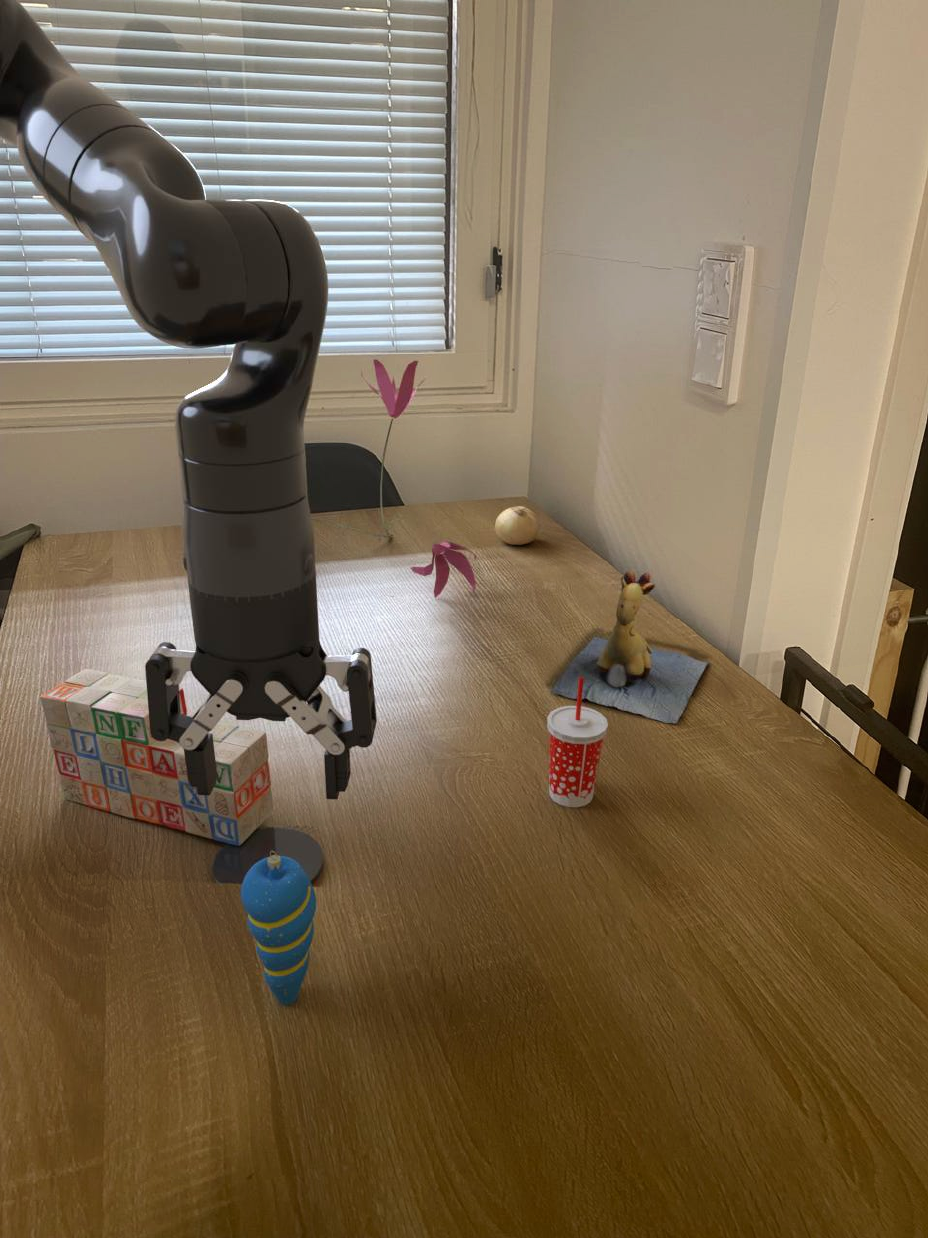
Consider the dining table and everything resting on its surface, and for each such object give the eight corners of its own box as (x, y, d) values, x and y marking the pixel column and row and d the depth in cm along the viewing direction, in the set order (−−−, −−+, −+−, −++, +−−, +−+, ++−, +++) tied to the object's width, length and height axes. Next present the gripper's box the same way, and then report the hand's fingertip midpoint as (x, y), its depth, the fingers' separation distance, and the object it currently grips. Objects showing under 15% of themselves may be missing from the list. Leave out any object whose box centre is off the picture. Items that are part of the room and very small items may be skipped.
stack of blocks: (276, 811, 91) (264, 703, 86) (240, 849, 85) (225, 736, 80) (104, 767, 98) (84, 665, 93) (61, 799, 92) (38, 693, 87)
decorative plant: (344, 706, 155) (275, 646, 127) (270, 516, 172) (195, 427, 145) (542, 609, 154) (515, 528, 126) (448, 428, 171) (405, 322, 144)
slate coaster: (199, 902, 80) (198, 896, 80) (229, 829, 89) (228, 824, 89) (312, 906, 80) (312, 901, 79) (331, 833, 89) (331, 828, 88)
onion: (485, 540, 165) (486, 502, 162) (515, 531, 170) (517, 494, 166) (516, 552, 159) (518, 514, 156) (547, 542, 164) (550, 505, 161)
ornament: (288, 1048, 66) (275, 888, 60) (238, 1015, 69) (220, 859, 63) (334, 1001, 70) (327, 847, 64) (285, 972, 73) (273, 820, 67)
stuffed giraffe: (550, 692, 114) (565, 575, 108) (594, 640, 130) (610, 534, 123) (675, 728, 109) (699, 606, 102) (706, 669, 124) (729, 560, 117)
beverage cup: (590, 775, 99) (601, 661, 93) (607, 809, 93) (621, 690, 87) (535, 779, 98) (543, 664, 92) (550, 814, 92) (559, 694, 86)
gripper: (378, 548, 58) (382, 762, 64) (154, 541, 58) (182, 755, 65) (362, 596, 51) (369, 829, 58) (109, 588, 51) (146, 822, 58)
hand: (270, 790), depth 61 cm, fingers open, 8 cm apart
